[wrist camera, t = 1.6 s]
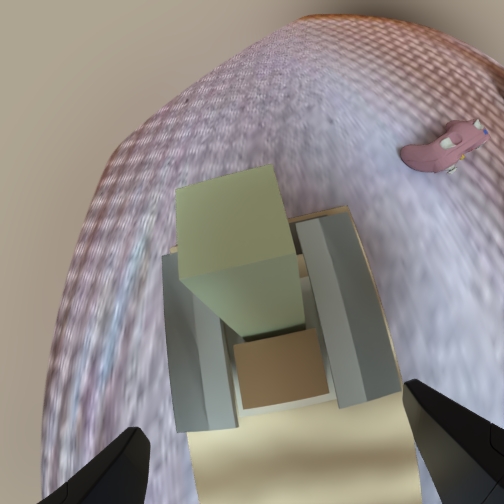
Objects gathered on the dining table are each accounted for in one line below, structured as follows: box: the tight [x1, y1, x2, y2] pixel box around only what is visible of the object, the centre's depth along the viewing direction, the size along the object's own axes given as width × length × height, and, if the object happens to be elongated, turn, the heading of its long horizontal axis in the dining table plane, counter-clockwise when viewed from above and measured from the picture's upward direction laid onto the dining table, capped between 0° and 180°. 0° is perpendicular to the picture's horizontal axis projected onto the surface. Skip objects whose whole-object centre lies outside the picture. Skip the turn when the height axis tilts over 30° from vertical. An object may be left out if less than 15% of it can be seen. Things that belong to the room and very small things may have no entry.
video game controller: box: [401, 119, 491, 174], centre depth 25 cm, size 10×5×7 cm, turn 118°
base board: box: [170, 206, 422, 504], centre depth 21 cm, size 27×16×1 cm, turn 9°
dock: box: [162, 212, 402, 433], centre depth 20 cm, size 12×13×6 cm
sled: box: [176, 164, 337, 417], centre depth 16 cm, size 9×7×13 cm
